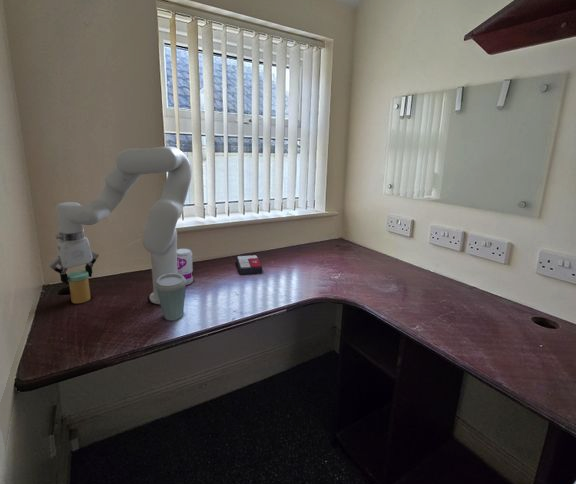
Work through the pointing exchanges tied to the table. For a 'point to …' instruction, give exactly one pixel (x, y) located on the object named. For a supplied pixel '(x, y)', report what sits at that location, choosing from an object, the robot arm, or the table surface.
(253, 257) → the black product box
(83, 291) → the jam jar
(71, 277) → the lid
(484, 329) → the table surface
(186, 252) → the supplement can
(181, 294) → the disposable coffee cup
